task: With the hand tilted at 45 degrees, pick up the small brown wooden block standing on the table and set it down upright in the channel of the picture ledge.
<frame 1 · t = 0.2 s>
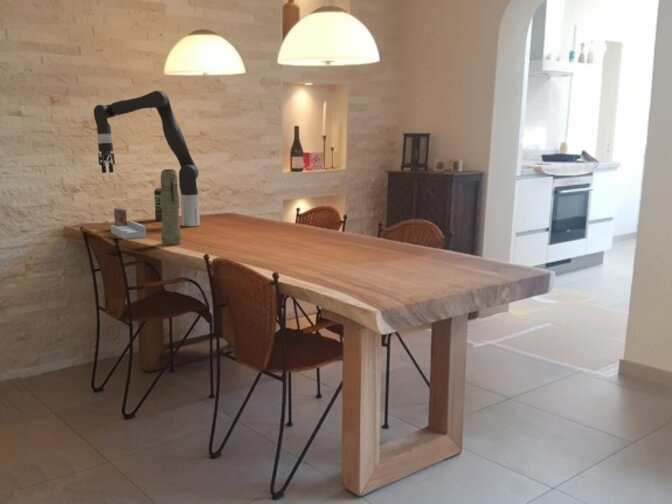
hand: (107, 172, 369), 29 cm above the table, tool pointing down, fingers open, 8 cm apart
thermos: (171, 244, 320), on the table
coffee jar: (163, 220, 393), on the table
picture ledge: (128, 234, 343), on the table
brown wooden block: (121, 229, 359), on the table
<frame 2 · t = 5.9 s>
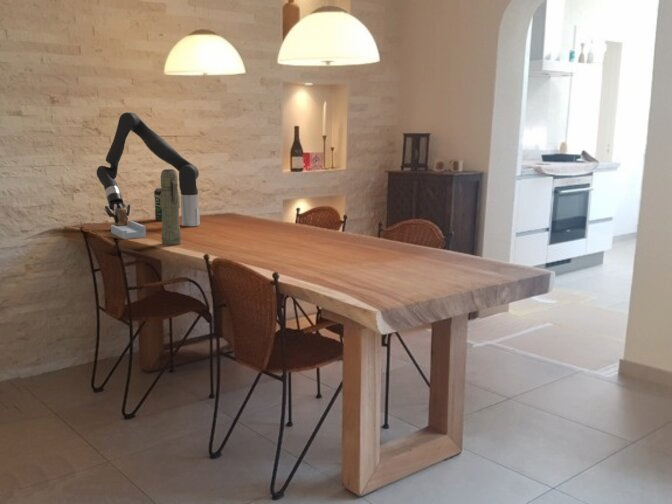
hand: (121, 221, 356), 5 cm above the table, tool tilted 45°, fingers closed on brown wooden block, 4 cm apart
brown wooden block: (121, 229, 359), on the table, touching gripper
everything else where it was.
when the fingers open (9 cm above the table, at t = 10.1 s): brown wooden block drops 2 cm, resting on picture ledge.
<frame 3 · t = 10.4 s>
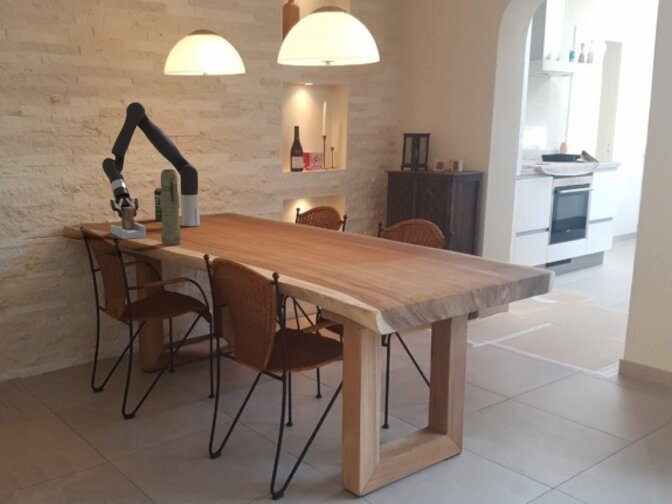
hand: (128, 216, 340), 10 cm above the table, tool tilted 45°, fingers open, 6 cm apart
brown wooden block: (128, 229, 343), point 3 cm above the table, touching picture ledge
everything else where it was.
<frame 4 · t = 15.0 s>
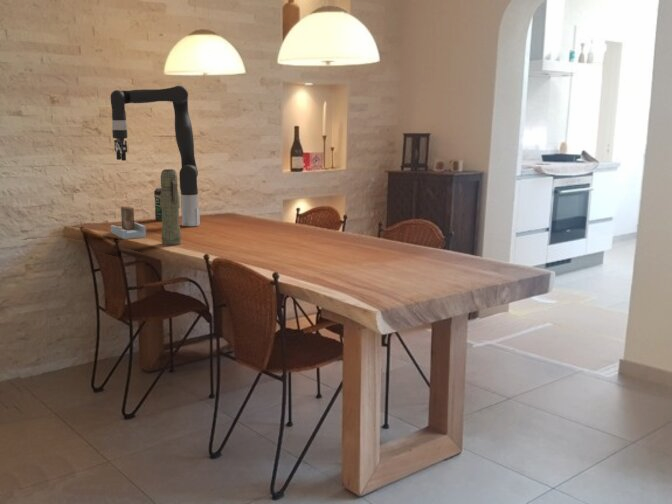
hand: (121, 160, 361), 36 cm above the table, tool pointing down, fingers open, 8 cm apart
nothing on the table moved.
at the end: brown wooden block 0.1 cm from the picture ledge (horizontally); brown wooden block point 3.0 cm above the table; brown wooden block tilted 0° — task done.
